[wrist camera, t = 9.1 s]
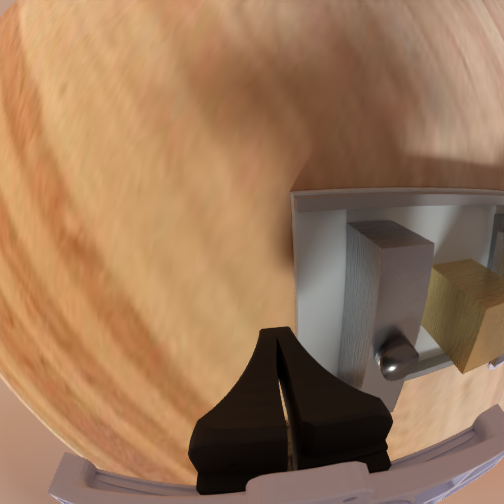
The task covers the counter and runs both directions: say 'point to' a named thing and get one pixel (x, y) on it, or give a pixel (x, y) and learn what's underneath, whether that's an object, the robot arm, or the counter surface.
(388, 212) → the board
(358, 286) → the bar
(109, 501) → the robot arm
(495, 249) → the fixed jaw
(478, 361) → the block
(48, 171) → the counter surface
